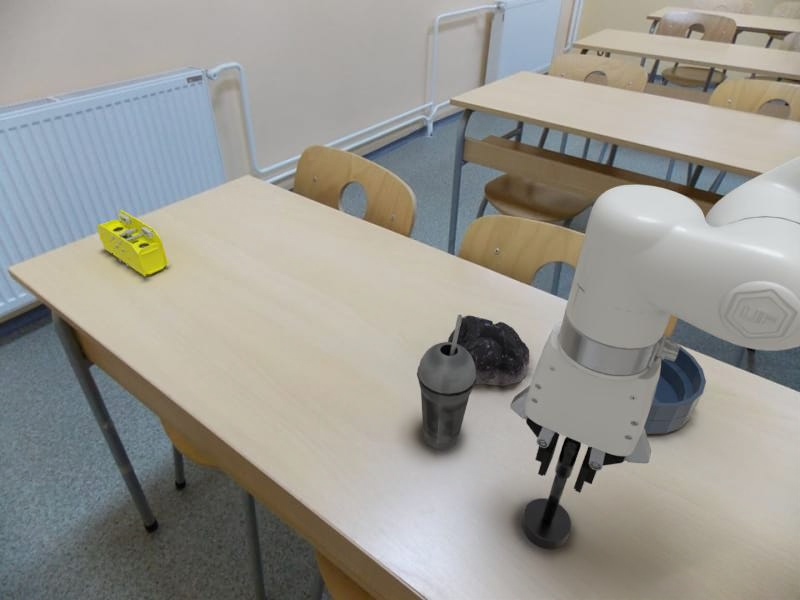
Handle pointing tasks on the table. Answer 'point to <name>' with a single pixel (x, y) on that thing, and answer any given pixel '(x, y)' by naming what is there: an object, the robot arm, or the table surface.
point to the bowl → (675, 393)
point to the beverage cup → (445, 390)
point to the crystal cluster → (493, 350)
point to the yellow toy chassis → (133, 243)
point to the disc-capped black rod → (552, 505)
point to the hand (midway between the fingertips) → (562, 472)
